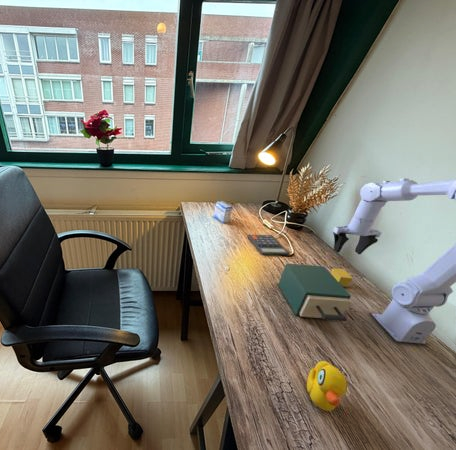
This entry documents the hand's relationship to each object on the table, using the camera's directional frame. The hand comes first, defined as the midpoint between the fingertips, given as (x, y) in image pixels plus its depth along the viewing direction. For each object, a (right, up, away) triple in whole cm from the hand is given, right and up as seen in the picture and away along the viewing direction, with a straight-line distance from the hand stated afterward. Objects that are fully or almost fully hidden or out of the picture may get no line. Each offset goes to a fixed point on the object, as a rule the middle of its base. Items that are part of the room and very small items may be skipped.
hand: (346, 251), depth 88 cm
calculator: (-20, +1, +20) cm, 28 cm away
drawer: (-20, -16, -13) cm, 29 cm away
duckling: (-34, -28, -35) cm, 56 cm away
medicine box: (-34, +13, +41) cm, 55 cm away
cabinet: (-20, -15, -9) cm, 27 cm away
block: (-3, -11, +1) cm, 11 cm away
